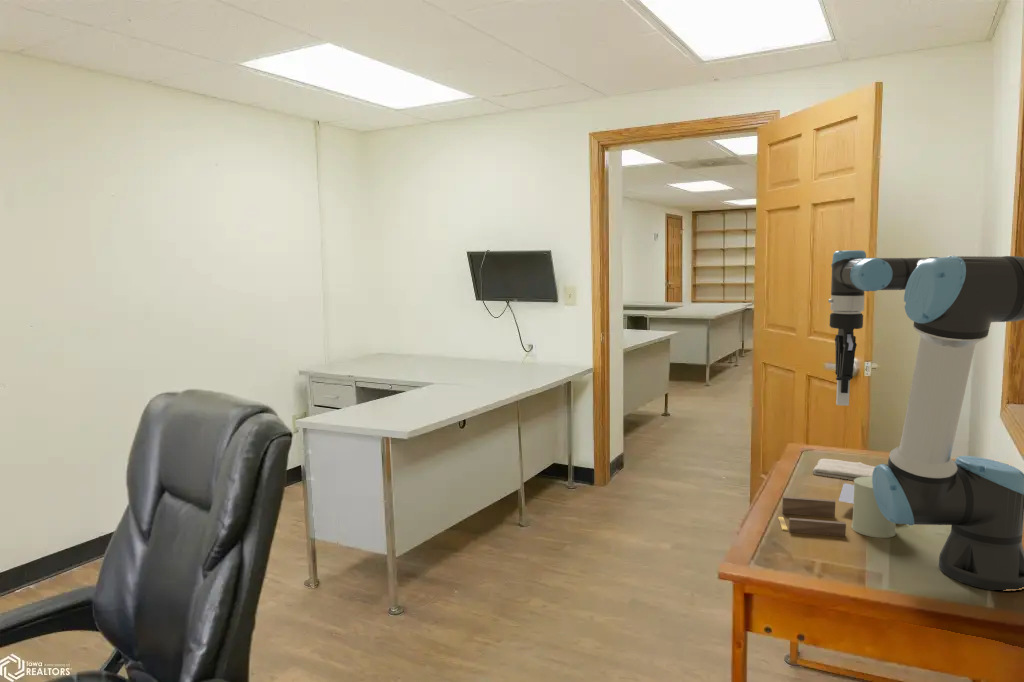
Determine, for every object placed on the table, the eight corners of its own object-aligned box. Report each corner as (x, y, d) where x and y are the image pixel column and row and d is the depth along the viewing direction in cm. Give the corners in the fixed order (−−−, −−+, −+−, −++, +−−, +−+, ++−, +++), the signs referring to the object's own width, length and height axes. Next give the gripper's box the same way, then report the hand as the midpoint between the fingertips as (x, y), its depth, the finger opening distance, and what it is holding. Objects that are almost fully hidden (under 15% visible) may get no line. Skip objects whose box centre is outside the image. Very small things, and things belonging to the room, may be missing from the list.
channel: (845, 536, 157) (846, 519, 156) (782, 531, 160) (783, 514, 160) (833, 515, 169) (834, 500, 169) (775, 511, 173) (776, 495, 172)
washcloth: (879, 486, 192) (880, 475, 192) (811, 476, 202) (811, 466, 202) (883, 475, 202) (884, 465, 202) (818, 465, 212) (818, 456, 212)
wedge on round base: (837, 513, 171) (896, 526, 163) (838, 487, 170) (897, 498, 162) (847, 503, 178) (904, 515, 170) (848, 478, 177) (905, 488, 169)
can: (898, 528, 161) (901, 478, 160) (893, 541, 154) (895, 489, 152) (855, 520, 167) (857, 472, 165) (848, 532, 159) (850, 482, 158)
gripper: (825, 310, 178) (821, 399, 181) (835, 314, 166) (831, 409, 168) (857, 310, 176) (852, 400, 179) (869, 314, 164) (864, 410, 167)
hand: (842, 404), depth 174 cm, fingers closed
